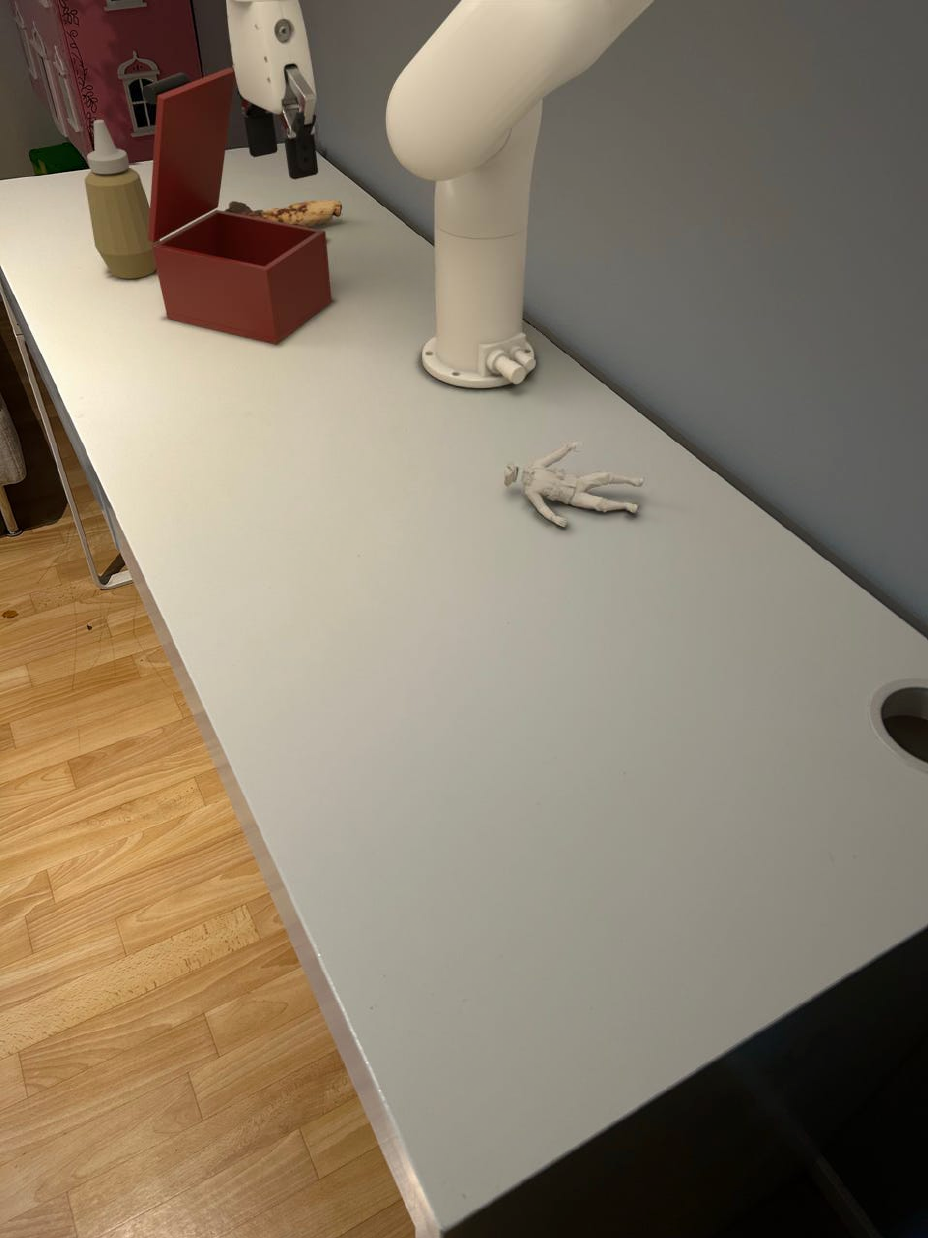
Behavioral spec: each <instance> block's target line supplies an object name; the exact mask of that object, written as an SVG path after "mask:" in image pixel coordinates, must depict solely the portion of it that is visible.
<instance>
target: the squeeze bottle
mask: <svg viewBox="0 0 928 1238" xmlns="http://www.w3.org/2000/svg"><path fill="white" fill-rule="evenodd" d="M93 140H94V141H93V143H94V150H93V151H91V152H89V153H88V154H87V156H86V159H87V164H88V167H89V170H90V171H89V173H87V175H86V176H85V178H84V186H85V191H86V198H87V204H88V211H89V216H90V217H89V218H90V223H91V229H92V235H93V236H92V237H93V243H94V247H95V248H96V250H97V252H98V253H99V255H100V256H101V259H102V260H103V262H104V263H105V265H106V266H107V268H108V270H109V272H110V273H111V274H112V276H115V277H116V278H120V279H137V278H143V277H146V276H149V275H151V274H153V273H154V272H155V271H157V268H156V264H155V259H154V255H153V250H152V245H154V244H156V243H158V242H159V241H161V239H160V240H158V241H156V242H154V243H152V242H150V241H149V240H148V229H149V215H150V204H149V201H148V198H147V195H146V191H145V188H144V185H143V182H142V178H141V176H140V174H139V172H137V170H135V169H134V168H132V167H130V161H129V157H128V154H127V152H126V151H125V150H124V149H121V148H117V147H116V145H115V143H114V140H113V139H112V135H111V134H110V131H109V129H108V127H107V124H106V122H105V120H103V119H96V120H94V121H93Z"/></svg>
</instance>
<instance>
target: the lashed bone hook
mask: <svg viewBox="0 0 928 1238" xmlns="http://www.w3.org/2000/svg"><path fill="white" fill-rule="evenodd" d="M342 210H343V204H342V203H341V201H338V200H331V199H330V200H329V199H327V200H325V199H324V200H310V201H304V202H300V203H293V204H291V205H289V206H286V207H281V208H279V207H276V208H271V209H268V210H262V209H256V210H253V209H251V208H250V207H249V206H248V205H247V204H246V203H244V202H240V201H237V200H236V201H234V200H233V201H230V202H229V203H228V208H226V209H225V210H224V211H225V212H230V213H235V214H241V215H246V216H251V217H256V218H261V219H266V220H272V221H277V222H282V223H287V224H292V225H297V226H303V227H308V228H312V227H315V226H318V225H321V224H324V223H327V222H329V221H332V219H333V217H336V218H339V217H341V215H342Z"/></svg>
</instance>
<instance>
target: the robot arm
mask: <svg viewBox="0 0 928 1238" xmlns="http://www.w3.org/2000/svg"><path fill="white" fill-rule="evenodd" d="M654 1H655V0H460V1H459V3H458V4H457V5H456V6H455V8H453V10H452V11H451V12H450V13H449V14H448V16H447V17H446V18H445V19H444V20H443V21H442V23H441V24H440V26H439V27H438V28H437V29H436V30H435V31H434V32H433V34H432V35H431V36H430V37H429V38H428V40H427V41H426V42H425V43H424V44H423V45H422V47H421V48H420V49H419V50H418V51H417V53H416V54H415V55H414V56H413V57H412V59H411V60H410V61H409V62H408V63H407V64H406V66H405V67H404V69H402V71H401V73H400V74H399V75H398V77H397V79H396V80H395V82H394V83H393V86H392V88H391V90H390V93H389V97H388V99H387V104H386V109H385V110H386V111H385V129H386V135H387V140H388V143H389V146H390V149H391V151H392V152H393V154H394V156H395V158H396V159H397V161H398V162H399V163H400V164H401V165H402V166H403V167H404V168H405V169H406V171H408V172H410V173H411V174H412V175H414V176H415V177H418V178H420V179H424V180H427V181H431V182H433V181H434V182H435V187H434V205H433V207H434V221H433V223H434V226H433V227H434V228H433V229H434V231H433V232H434V235H433V236H434V292H435V293H434V297H435V299H434V300H435V301H434V302H435V336H434V337H432V338H430V339H429V340H428V341H427V342H426V343H425V345H423V348H422V352H421V357H422V358H421V359H422V365H423V367H424V369H425V371H427V373H428V374H429V375H431V376H432V377H433V378H435V379H437V380H438V381H440V382H444V383H446V384H449V385H452V386H457V387H462V388H470V389H490V388H497V387H502V386H507V385H510V384H514V385H518V384H520V383H522V382H523V381H524V380H525V378H526V376H527V375H528V374H529V373H530V372H531V371H533V370H534V369H535V367H536V365H537V360H536V359H535V351H534V348H533V346H531V344H530V343H529V342H528V341H527V339H526V337H527V335H526V334H525V333H524V332H523V315H524V299H525V278H526V261H527V242H528V224H529V212H530V210H529V209H530V195H531V185H532V184H531V183H532V174H533V167H534V160H535V154H536V148H537V145H538V139H539V133H540V129H541V122H542V116H543V100H544V98H545V97H546V96H548V95H549V94H550V93H552V92H553V91H554V90H555V89H557V88H559V87H561V86H562V85H564V84H566V83H567V82H569V81H571V80H573V79H574V78H576V77H578V76H580V75H581V74H583V73H584V72H586V71H587V70H588V69H589V68H591V66H592V65H593V64H594V63H596V61H597V60H598V59H600V57H601V56H602V55H603V54H604V52H606V50H607V49H608V48H609V47H610V46H611V45H612V44H613V43H614V42H615V41H616V39H617V38H618V37H619V36H620V35H621V34H623V32H624V31H625V30H626V29H627V28H628V27H629V26H630V25H631V24H632V23H633V22H634V21H635V20H636V19H638V17H639V16H640V15H641V14H642V13H644V12H645V10H646V9H647V8H648V7H649V6H651V4H652V3H653V2H654ZM225 2H226V3H225V4H226V16H227V27H228V36H229V43H230V50H231V58H232V65H231V66H232V67H231V69H233V73H234V76H235V78H234V80H235V81H236V85H237V88H236V90H237V91H236V92H237V95H238V96H239V98H240V100H241V105H240V109H241V113H242V115H243V121H244V126H245V132H246V138H247V144H248V150H249V155H250V156H252V157H253V158H257V157H263V156H268V155H272V154H276V153H277V152H278V142H277V135H276V127H275V121H274V115H278V116H279V118H280V121H281V123H282V125H283V128H284V131H285V133H286V135H287V136H286V137H284V138H283V141H284V147H285V155H286V162H287V170H288V176H289V178H290V179H291V180H299V179H304V178H309V177H312V176H316V175H318V174H319V165H318V157H317V148H316V139H315V135H316V134H317V133H316V132H317V131H316V130H317V129H316V121H317V115H316V106H317V99H318V98H317V91H316V85H315V78H314V69H313V65H312V64H313V63H312V56H311V52H310V46H309V40H308V35H307V29H306V25H305V21H304V16H303V12H302V8H301V5H300V1H299V0H225ZM291 115H295V116H294V118H293V120H292V118H291Z"/></svg>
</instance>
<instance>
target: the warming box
mask: <svg viewBox="0 0 928 1238" xmlns="http://www.w3.org/2000/svg"><path fill="white" fill-rule="evenodd" d="M326 234H327V233H326V230H323V229H319V228H313V227H309V228H308V227H303V226H297V225H292V224H287V223H282V222H277V221H272V220H266V219H261V218H256V217H251V216H246V215H241V214H235V213H230V212H225V210H219V209H214V210H212V211H211V212H209V213H207V214H205V215H203V216H202V217H200V218H198V219H196V220H194V221H193V222H191V223H189V224H187V225H185V226H184V227H182V228H180V229H178V230H176V231H175V232H173V233H171V234H169V235H167V236H166V237H164V238H162V239H160V241H159V242H158V243H156V244H154V245H152V250H153V255H154V259H155V264H156V273H157V278H158V282H159V286H160V291H161V295H162V300H163V304H164V309H165V314H166V318H167V319H168V320H172V321H176V322H181V323H185V324H190V325H193V326H196V327H202V328H206V329H210V330H214V331H219V332H222V333H227V334H231V335H235V336H239V337H243V338H244V337H245V338H248V339H251V340H256V341H260V342H264V343H269V344H272V345H275V346H276V345H277V346H278V345H279V344H280V343H281V342H283V340H285V339H286V338H288V337H289V336H290V335H291V334H293V333H294V332H295V331H296V330H298V329H299V328H300V327H301V326H303V325H304V324H305V323H307V322H308V321H309V320H311V319H312V318H314V317H315V316H316V315H317V314H319V312H321V311H322V310H323V309H326V307H327V306H329V305H331V303H332V302H333V297H332V289H331V278H330V267H329V254H328V243H327V235H326Z"/></svg>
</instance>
